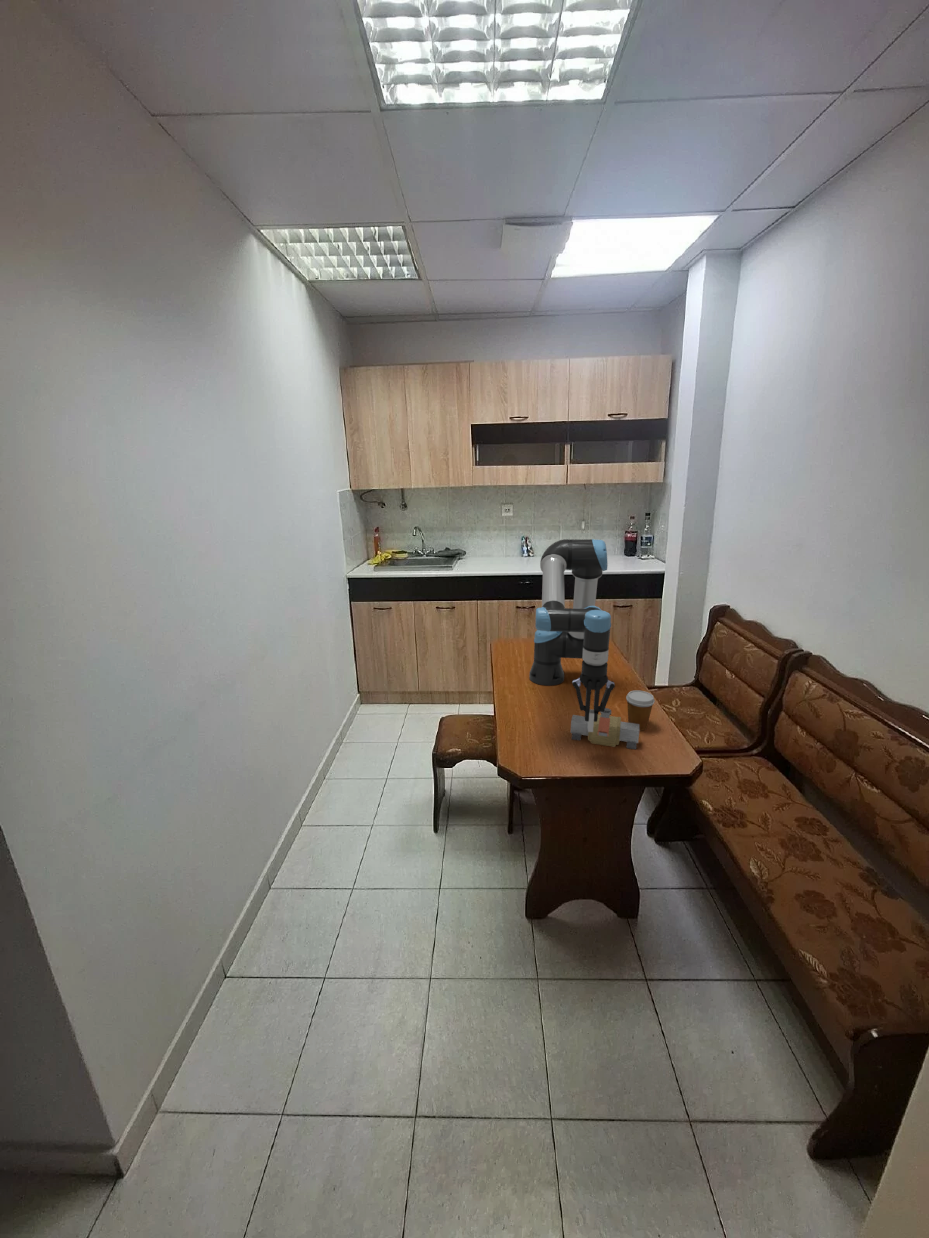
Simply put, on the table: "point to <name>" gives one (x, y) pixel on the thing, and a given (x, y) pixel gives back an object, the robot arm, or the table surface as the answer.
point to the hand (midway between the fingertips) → (590, 729)
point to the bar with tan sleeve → (616, 731)
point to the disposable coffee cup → (639, 707)
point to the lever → (604, 723)
